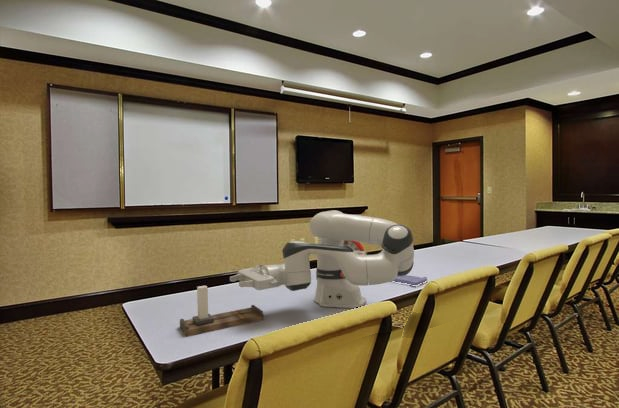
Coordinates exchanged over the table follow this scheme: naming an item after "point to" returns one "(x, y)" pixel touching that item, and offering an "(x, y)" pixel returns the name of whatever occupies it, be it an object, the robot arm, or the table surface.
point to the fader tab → (202, 307)
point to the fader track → (223, 321)
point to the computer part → (410, 279)
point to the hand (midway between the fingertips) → (234, 281)
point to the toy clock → (353, 246)
